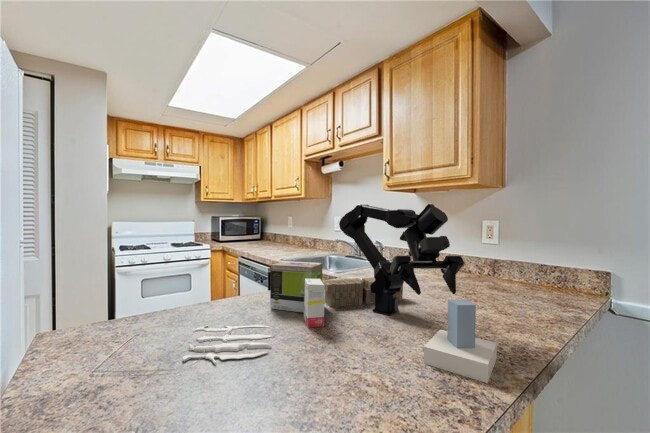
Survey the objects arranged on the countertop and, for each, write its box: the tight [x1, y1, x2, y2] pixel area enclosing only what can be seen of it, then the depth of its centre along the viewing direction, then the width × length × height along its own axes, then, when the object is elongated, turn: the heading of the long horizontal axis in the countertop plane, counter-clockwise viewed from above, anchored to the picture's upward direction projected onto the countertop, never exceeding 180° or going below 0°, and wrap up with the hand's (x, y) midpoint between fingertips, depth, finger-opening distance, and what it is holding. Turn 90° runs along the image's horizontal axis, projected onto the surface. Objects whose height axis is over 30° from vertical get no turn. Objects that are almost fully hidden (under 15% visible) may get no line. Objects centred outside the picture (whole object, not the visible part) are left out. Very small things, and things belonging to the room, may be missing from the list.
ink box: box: [303, 279, 325, 328], centre depth 86 cm, size 9×5×12 cm, turn 10°
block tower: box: [322, 276, 404, 307], centre depth 108 cm, size 8×8×29 cm
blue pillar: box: [447, 299, 477, 348], centre depth 64 cm, size 4×4×9 cm
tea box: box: [269, 260, 323, 313], centre depth 99 cm, size 15×10×15 cm
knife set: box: [90, 323, 275, 373], centre depth 71 cm, size 26×35×1 cm
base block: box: [423, 329, 498, 384], centre depth 64 cm, size 12×12×4 cm
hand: (437, 293), depth 74 cm, fingers open, 9 cm apart
